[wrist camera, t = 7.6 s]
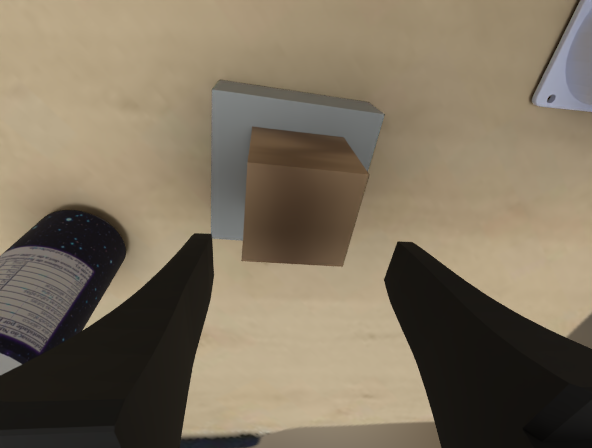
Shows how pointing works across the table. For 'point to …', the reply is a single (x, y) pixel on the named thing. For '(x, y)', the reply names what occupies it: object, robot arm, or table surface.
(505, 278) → the table surface
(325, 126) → the grey block
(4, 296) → the beverage can
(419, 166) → the table surface
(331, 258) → the walnut cube
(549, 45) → the table surface
